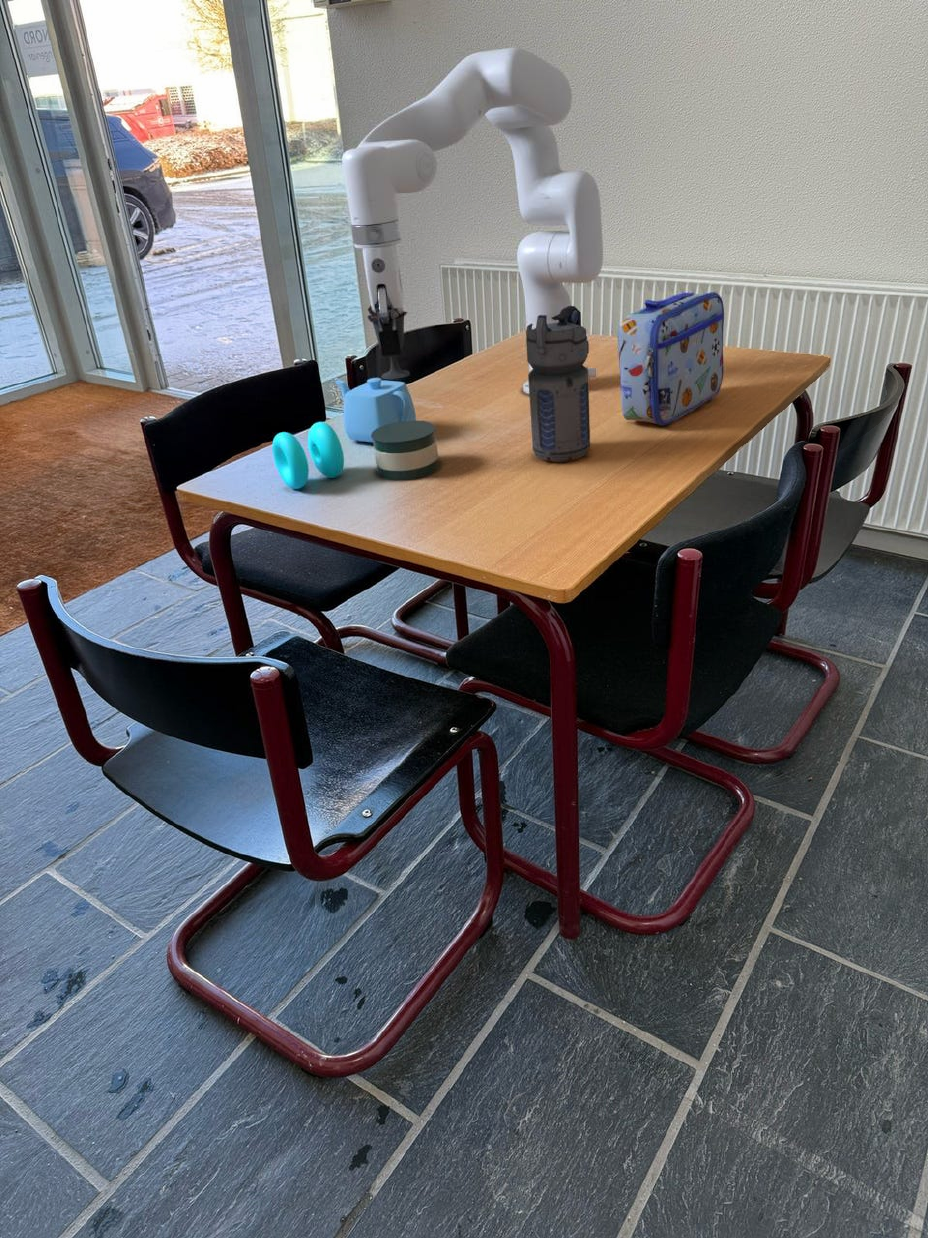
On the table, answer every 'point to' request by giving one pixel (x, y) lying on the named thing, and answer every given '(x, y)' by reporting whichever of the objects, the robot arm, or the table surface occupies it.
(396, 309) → the sundae
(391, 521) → the table surface
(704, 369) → the lunch box
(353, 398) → the teapot
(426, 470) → the tin
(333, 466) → the donuts
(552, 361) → the beverage bottle
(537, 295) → the robot arm
